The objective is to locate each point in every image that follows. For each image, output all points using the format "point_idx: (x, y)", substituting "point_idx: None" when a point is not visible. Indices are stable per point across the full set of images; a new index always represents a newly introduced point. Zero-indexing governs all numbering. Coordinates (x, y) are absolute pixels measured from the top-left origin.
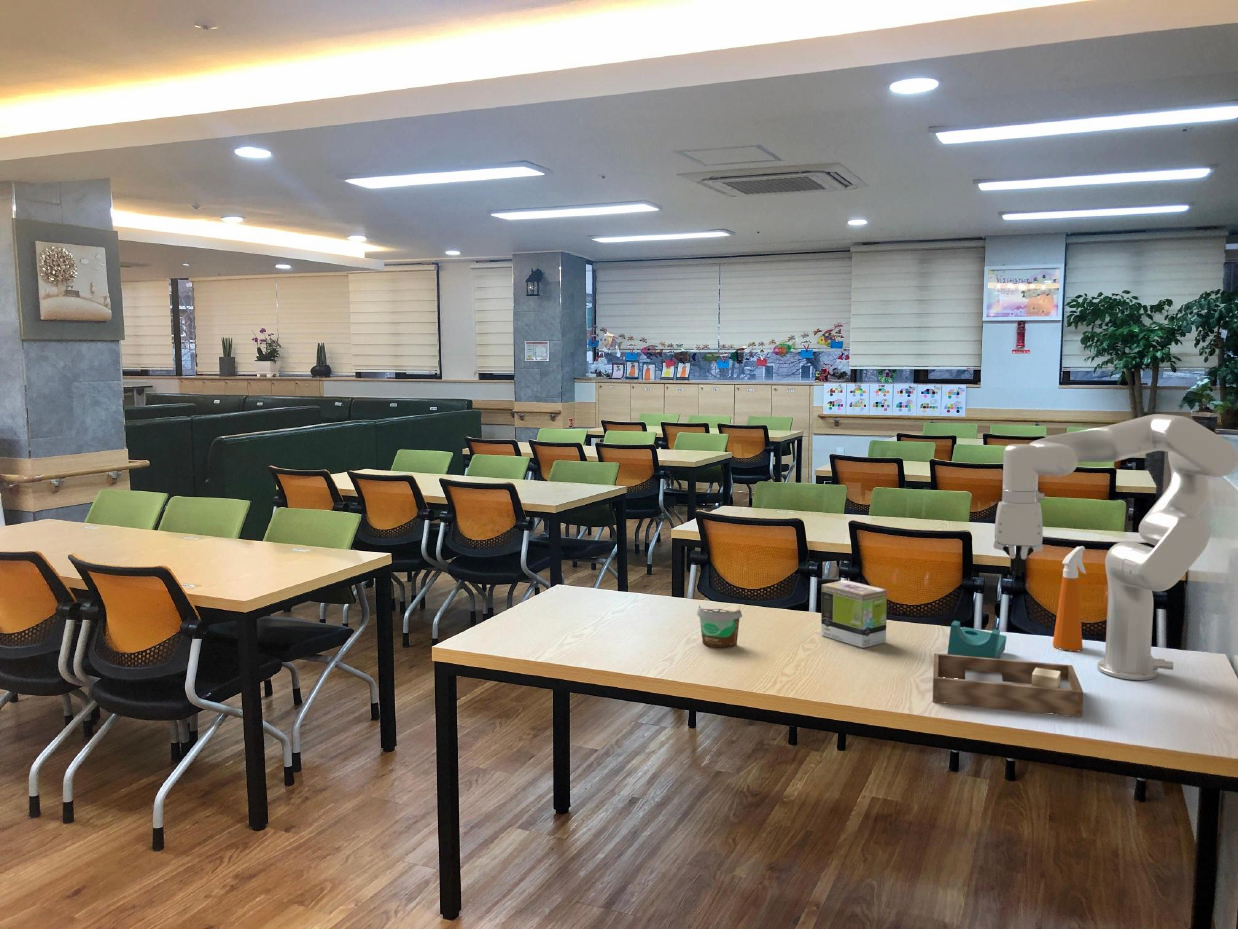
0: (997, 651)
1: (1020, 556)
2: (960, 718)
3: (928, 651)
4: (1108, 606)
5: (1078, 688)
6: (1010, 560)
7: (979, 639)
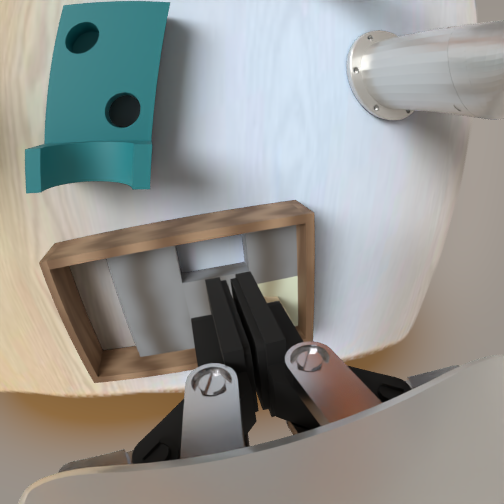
0: (151, 135)
1: (284, 414)
2: (150, 387)
3: (16, 95)
4: (451, 66)
5: (308, 331)
6: (197, 359)
7: (103, 74)
